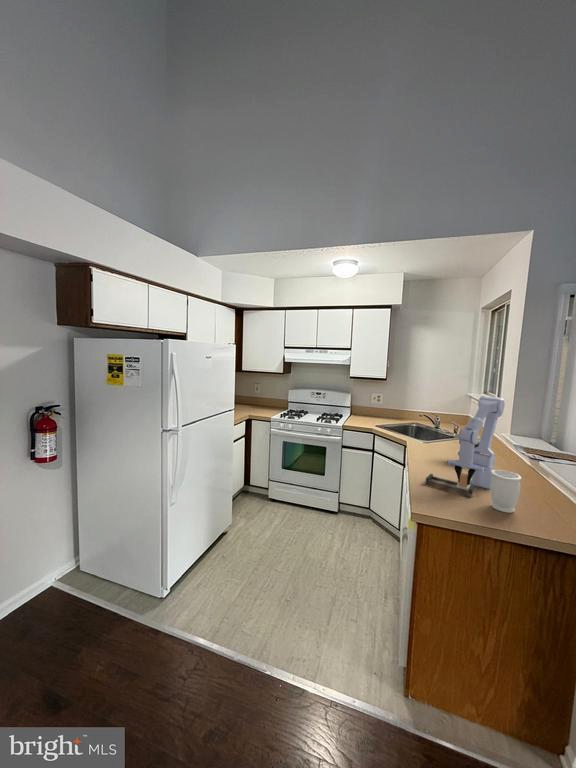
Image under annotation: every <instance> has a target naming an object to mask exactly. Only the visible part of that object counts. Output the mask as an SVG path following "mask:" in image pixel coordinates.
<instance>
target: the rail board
mask: <svg viewBox="0 0 576 768" xmlns="http://www.w3.org/2000/svg"><path fill="white" fill-rule="evenodd" d="M458 483H459V482H458V481H457V482H456V481H453V480H449V479H445V478H441V477H437V476H434V474H433V473H430V474H429V475H427V477H425V483H424V485H425V486H426V485H427V487H430V486H431V488H433V487H434V488H435V489H437V490H441V491H445V492H448V493H452V494H455V495H459V496H463V497H466V498H469V499H472V497H473V496H474V495H475V493H476V486H475V485H473V484H472V485H471V488H470V489H469V491H468V490H465V489H461V488H457V487H456V486H457V484H458ZM434 488H433V489H434Z"/></svg>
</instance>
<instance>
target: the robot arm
mask: <svg viewBox="0 0 576 768" xmlns="http://www.w3.org/2000/svg"><path fill="white" fill-rule="evenodd" d="M477 404H478V405H477V406H478V409H477V411H476V413H475V415H474V417H471V418H469V421H468V422H467V423H466V425H465V427H464V428H462V429H460V430H459V432H458V435H457V436H458V444H459V451H460V452H459V451H458V452H459V455H458V460H452V459H448V461H447V465H448V466H454V472H455V473H456V476H457V483H459V482H460V475H461V474H462V473H463V472H462V471H463V469H467V470H468V471H467V474H468V480H467V485H471V486H472V484H473V485H475V487H479V488H483V489H487V490H490V483H491V479H492V476H493V475H492V471H493V470H494V469H493V468H494V466H495V464H496V454H495V453H494V452H493V450H491V446H492V443H493V438H494V434H495V430H496V425H497V423H498V419H499V417H502V415H503V414H504V410H505V400H504V398H501V397H500V398H499V397H492V396H484V395H482V396H480V397H479V399H478V403H477ZM484 419H485V420H484ZM483 421H484V422H483ZM482 427H483V428H482ZM481 429H482V430H481ZM480 430H481V431H482V432H481V436H480V434H479V432H480ZM478 435H479V436H480V443H479V446H478V447H476V448H474V444H475V442H476V441H477V439H478Z"/></svg>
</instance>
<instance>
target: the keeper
mask: <svg viewBox="0 0 576 768" xmlns="http://www.w3.org/2000/svg"><path fill="white" fill-rule="evenodd" d="M467 480H468V473H464V472H462V473H461V475H460V482H457V483H458V484H457V486H456V487H457V488H461V489H465V490H468V491H469V489H470V488H471V486H472V485H471V484H469V485H467Z"/></svg>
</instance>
